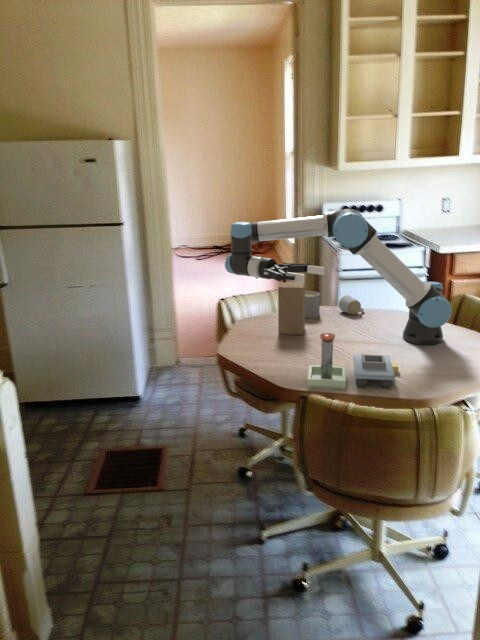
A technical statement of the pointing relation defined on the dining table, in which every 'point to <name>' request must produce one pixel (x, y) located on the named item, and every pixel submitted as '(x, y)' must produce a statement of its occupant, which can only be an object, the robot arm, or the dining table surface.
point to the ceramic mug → (350, 305)
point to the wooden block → (291, 308)
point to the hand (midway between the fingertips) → (314, 274)
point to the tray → (334, 383)
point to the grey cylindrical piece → (312, 304)
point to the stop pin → (327, 355)
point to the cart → (374, 369)
